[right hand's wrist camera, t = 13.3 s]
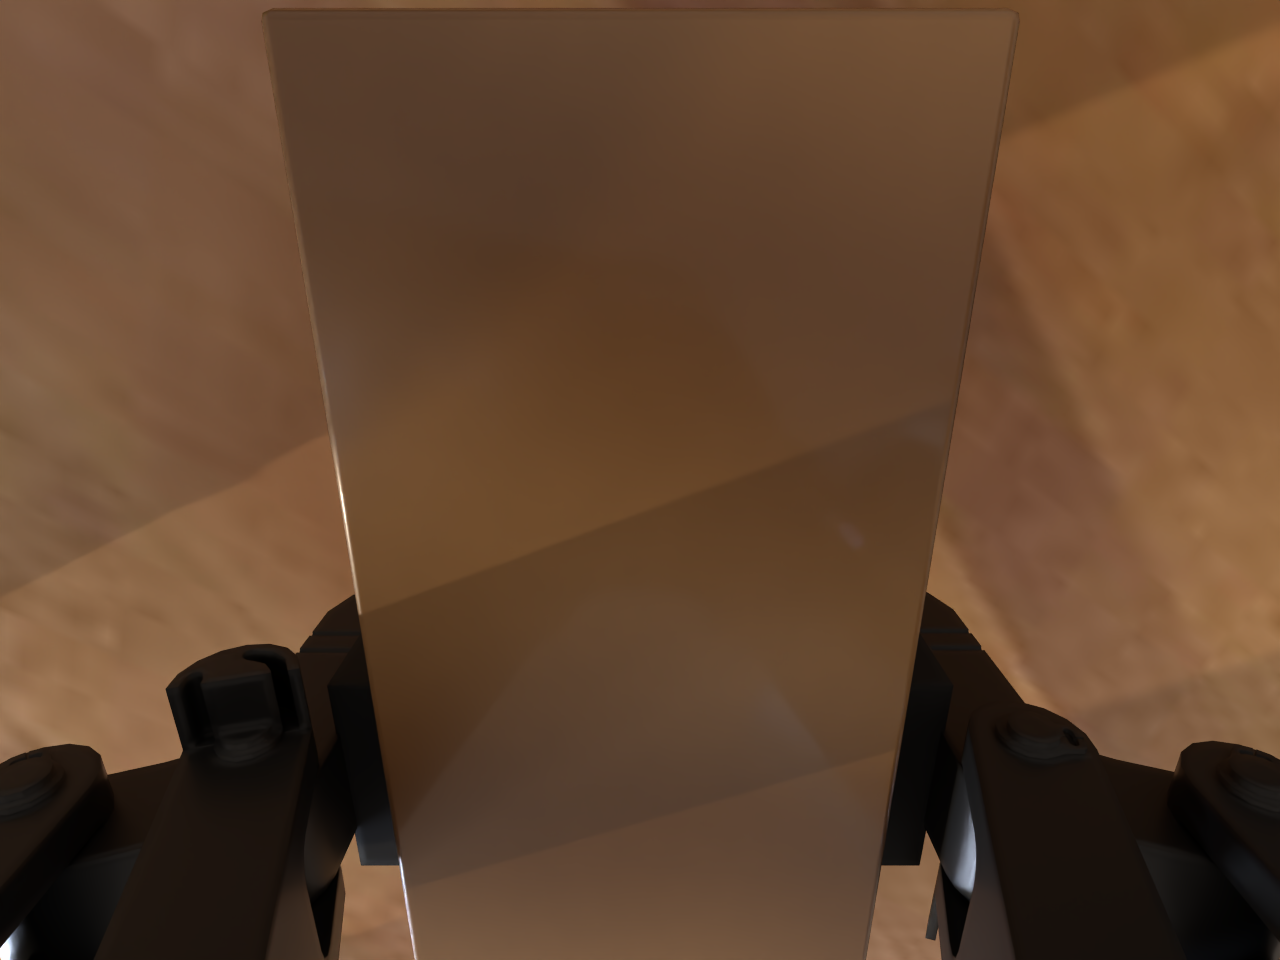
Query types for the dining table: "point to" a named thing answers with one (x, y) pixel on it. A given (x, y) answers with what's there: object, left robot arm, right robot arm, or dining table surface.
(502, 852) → the post
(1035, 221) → the dining table surface
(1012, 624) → the dining table surface
